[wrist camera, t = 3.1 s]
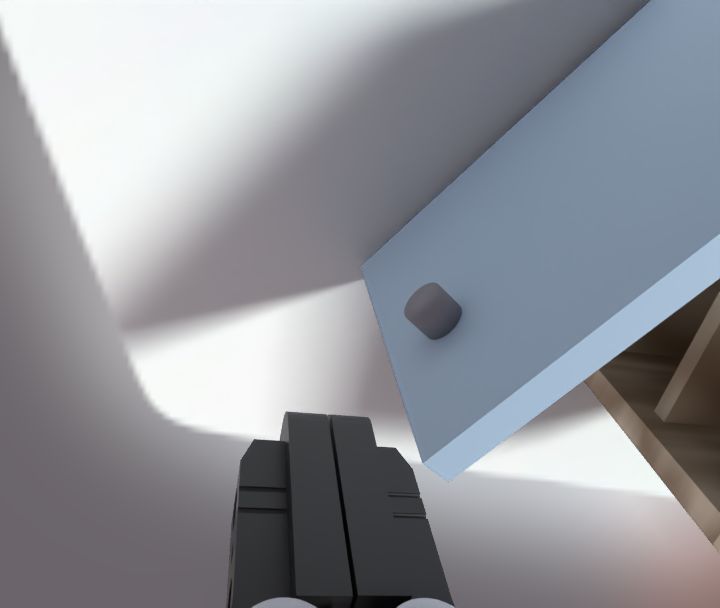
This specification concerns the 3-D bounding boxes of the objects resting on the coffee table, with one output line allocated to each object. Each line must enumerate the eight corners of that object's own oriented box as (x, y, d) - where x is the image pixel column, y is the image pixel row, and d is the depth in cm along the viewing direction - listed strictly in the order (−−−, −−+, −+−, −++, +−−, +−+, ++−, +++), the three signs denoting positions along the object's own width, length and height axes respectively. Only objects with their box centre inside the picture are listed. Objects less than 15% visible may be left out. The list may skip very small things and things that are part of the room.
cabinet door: (718, -101, 23) (1179, -182, 11) (742, -48, 24) (1187, -74, 12) (343, 250, 28) (395, 443, 16) (376, 281, 29) (448, 482, 17)
